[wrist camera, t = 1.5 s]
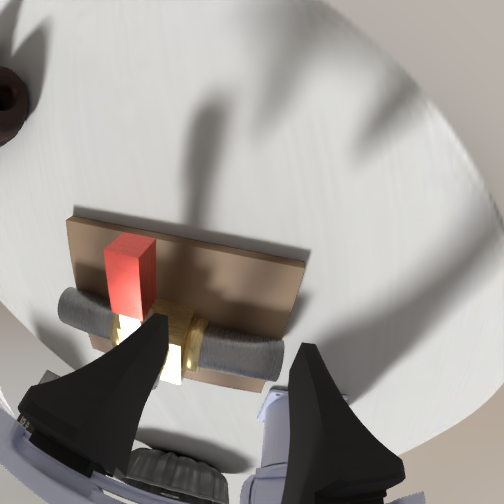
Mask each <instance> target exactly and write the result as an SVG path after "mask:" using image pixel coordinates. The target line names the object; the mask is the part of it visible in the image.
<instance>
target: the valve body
mask: <svg viewBox="0 0 504 504" xmlns="http://www.w3.org/2000/svg"><path fill="white" fill-rule="evenodd" d="M195 310H196V308H195V307H191V306H187V305H182V304H178V303H174V302H170V301H166V300H162V299H158V298H157V299H156V300H155V302H154V304H153V305H152V315H153V314H154V313H159V314H163V315H167V316H168V327H169V349H168V352H167V355H166V358H165V361H164V370H163V373H162V375H161V378H160V379H161V380H164V381H168V382H171V383H175V384H179V385H181V383H182V380H183V377H184V374H185V371H190V372H194V373H198V372H199V370H200V368H203V369H207V370H212V371H217V372H221V373H226V374H231V375H237V376H242V377H248V378H254V379H260V380H267V381H274V382H276V381H277V379H278V377H279V375H280V372H281V368H282V363H283V357H284V341H283V340H279V339H273V338H267V337H261V336H256V335H250V334H245V333H240V332H234V331H229V330H225V329H220V328H215V327H210V326H208V324H209V320H206V319H202V318H198V317H195ZM58 315H59V318H60V320H61V321H62V322H63V323H65V324H68V325H70V326H72V327H75V328H77V329H79V330H82V331H84V332H87V333H89V334H92V335H94V336H97V337H100V338H102V339H105V340H108V341H111V344H112V346H113V348H114V347H115V346H116V345H118V344H119V343H120V342H122V341H123V336H122V331H121V325H120V320H119V314H117V313H114V312H112V308H111V302H110V300H109V299H106V298H103V297H99V296H96V295H93V294H90V293H87V292H84V291H82V290H79V289H76V288H73V287H69V288H67V289H66V290H65V291H64V292H63V293H62V295H61V297H60V299H59V303H58Z"/></svg>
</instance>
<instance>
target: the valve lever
mask: <svg viewBox="0 0 504 504" xmlns="http://www.w3.org/2000/svg"><path fill="white" fill-rule="evenodd" d="M104 258H105V267H106V276H107V283H108V290H109V296H110V302H111V308H112V312H114V313H117V314H119V320H120V325H121V331H122V336H123V340H124V339H125V338H127V337H128V336H129V335H130V334H131V333H133V332H134V331H135V330H136V329H137V328H138V327H140V326H141V325H142V324H143V323H144V322H145V321H146V320H147V319H148V318H150V317H151V316H152V305H153V304H154V302H155V300H156V299H157V289H156V238H151V237H146V236H141V235H136V234H131V233H127V232H124V233H123V234H121V235H120V236H119V237H118V238H117V239H115V240H114V241H113V242H112V243H111V244H110V245H109V246H107V247H106V248H105V249H104ZM163 370H164V364H163V366H162V369H161V371H160V373H159V375H158V377H157V379H156V382H155V384H154V386H153V388H152V390H153V389H156V387H157V385H158V383H159V380H160V378H161V375H162V373H163Z"/></svg>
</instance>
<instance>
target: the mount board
mask: <svg viewBox="0 0 504 504" xmlns="http://www.w3.org/2000/svg"><path fill="white" fill-rule="evenodd" d="M66 226H67V235H68V242H69V249H70V256H71V262H72V268H73V273H74V278H75V283H76V288H77V289H79V290H82V291H84V292H87V293H90V294H93V295H96V296H99V297H103V298H106V299H109V300H110V296H109V290H108V283H107V276H106V267H105V258H104V249H105V248H106V247H107V246H109V245H110V244H111V243H112V242H113V241H114V240H115V239H117V238H118V237H119V236H120V235H121V234H123V233H124V232H127V233H131V234H136V235H141V236H146V237H151V238H156V289H157V298H158V299H162V300H166V301H170V302H174V303H178V304H182V305H187V306H191V307H195V308H196V310H195V317H198V318H202V319H206V320H209V324H208V326H210V327H215V328H220V329H225V330H229V331H234V332H240V333H245V334H250V335H256V336H261V337H267V338H273V339H279V340H281V339H282V336H283V333H284V331H285V328H286V325H287V322H288V319H289V316H290V313H291V310H292V307H293V304H294V302H295V299H296V296H297V292H298V289H299V286H300V283H301V280H302V277H303V274H304V271H305V264H304V262H303V261H298V260H293V259H288V258H283V257H278V256H273V255H268V254H263V253H258V252H252V251H247V250H242V249H237V248H232V247H227V246H222V245H217V244H212V243H207V242H202V241H197V240H192V239H187V238H182V237H177V236H172V235H166V234H161V233H156V232H151V231H146V230H141V229H136V228H131V227H126V226H121V225H116V224H111V223H106V222H101V221H95V220H90V219H85V218H80V217H75V216H72V217H70V218H68V219H67V220H66ZM88 334H89V333H88ZM89 337H90V340H91V344H92V347H93V348H94V349H97V350H99V351H102V352H105V353H107V352H108V351H110V350H111V349H112V348H113V346H112V344H111V341H108V340H105V339H102V338H100V337H97V336H94V335H92V334H89ZM183 378H187V379H191V380H195V381H200V382H204V383H208V384H213V385H218V386H223V387H228V388H233V389H239V390H244V391H250V392H257V393H261V392H262V389H263V387H264V384H265V382H266V380H260V379H254V378H248V377H242V376H237V375H231V374H226V373H221V372H217V371H212V370H207V369H203V368H200V370H199V372H198V373H194V372H190V371H185V374H184V377H183Z"/></svg>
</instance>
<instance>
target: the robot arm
mask: <svg viewBox="0 0 504 504" xmlns="http://www.w3.org/2000/svg"><path fill="white" fill-rule="evenodd" d="M168 349H169V327H168V316H167V315H163V314H159V313H154V314H153V315H152V316H151V317H150V318H148V319H147V320H146V321H145V322H144V323H143V324H142V325H141V326H140V327H138V328H137V329H136V330H135V331H134V332H133V333H131V334H130V335H129V336H128V337H127V338H125V339H124V340H123V341H122V342H120V343H119V344H118V345H116V346H115V347H114V348H112V349H111V350H110V351H108V352H107V353H105V354H104V355H102V356H101V357H99V358H98V359H96V360H94V361H93V362H91V363H89V364H87V365H86V366H84V367H82V368H80V369H78V370H76V371H74V372H72V373H69V374H67V375H65V376H62V377H60V378H57V379H55V380H52V381H49V382H45V383H42V384H38V385H35V386H31V387H30V388H29V390H28V391H27V393H26V394H25V396H24V397H23V399H22V401H21V402H20V404H19V406H18V410H19V412H20V413H21V414H22V416H23V417H24V418H25V419H26V420H27V421H28V422H29V423H30V424H31V425H32V426H33V427H34V430H33V432H32V434H31V433H29V432H28V431H27V430H25V428H24V427H23V426H22V425H21V424H20V423H19V422H18V421H17V420H15V419H14V418H13V417H12V416H11V415H9V414H8V413H7V412H5V411H4V410H3V409H2V408H0V463H1V464H2V465H3V466H4V467H5V468H6V469H7V470H8V471H9V472H10V473H12V474H13V475H14V476H15V477H16V478H18V480H19V481H21V482H22V483H23V484H24V485H25V486H27V487H28V488H29V489H30V490H32V491H33V492H34V493H35V494H37V495H38V496H39V497H41V498H42V499H43V500H45V501H46V502H48V503H49V504H126V503H124V502H121V501H119V500H117V499H114V498H112V497H110V496H107V495H105V494H104V493H103V490H106V491H108V492H110V493H112V494H115V495H117V496H120V497H122V498H125V499H128V500H130V501H133V502H135V503H138V504H188V503H184V502H180V501H176V500H172V499H168V498H165V497H161V496H158V495H155V494H152V493H149V492H145V491H143V490H140V489H137V488H134V487H131V486H129V485H126V484H123V483H121V482H118V481H116V480H113V479H111V478H109V477H107V476H105V475H108V476H110V477H115V478H117V479H122V478H125V477H126V475H127V469H128V464H129V459H130V454H131V450H132V446H133V442H134V438H135V435H136V431H137V427H138V424H139V421H140V417H141V414H142V411H143V408H144V406H145V403H146V401H147V399H148V397H149V394H150V392H151V390H152V388H153V386H154V384H155V382H156V379H157V377H158V375H159V373H160V371H161V369H162V366H163V364H164V361H165V358H166V355H167V352H168ZM347 399H348V398H347V396H345V395H341V393H340V391H339V390H338V388H337V386H336V385H335V383H334V381H333V379H332V377H331V375H330V373H329V371H328V370H327V368H326V365H325V363H324V361H323V359H322V357H321V355H320V353H319V351H318V349H317V346H316V345H315V344H310V343H303V342H302V344H301V346H300V348H299V350H298V353H297V355H296V357H295V359H294V362H293V364H292V366H291V368H290V371H289V384H288V391H283V390H275V389H273V390H270V391H269V393H268V395H267V398H266V400H265V402H264V404H263V407H262V409H261V411H260V413H259V415H258V418H257V421H259V422H264V435H263V448H262V460H261V468H256V475H251V476H249V478H248V479H247V480H246V481H245V482H244V484H243V486H242V489H241V495H240V504H384V501H383V498H384V497H386V495H387V493H386V490H387V489H389V488H391V487H393V486H395V485H397V484H399V483H401V482H402V481H403V480H404V479H405V471H404V465H403V461H402V459H400V458H399V457H398V456H396V455H395V454H394V453H392V452H391V451H390V450H389V449H387V448H386V447H385V446H384V445H383V444H382V443H381V442H379V441H378V440H377V439H376V438H375V437H374V436H373V435H372V434H371V433H370V431H369V430H368V429H367V428H366V427H365V426H364V425H363V424H362V423H361V421H360V420H359V419H358V418H357V416H356V415H355V414H354V412H353V411H352V410H351V408H350V407H349V406H348V404H347V403H346V401H347ZM102 489H103V490H102ZM386 504H426V503H425V496H424V492H423V491H422V492H419V493H415V494H412V495H409V496H405V497H402V498H399V499H397V500H394V501H393V502H390V503H386Z"/></svg>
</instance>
